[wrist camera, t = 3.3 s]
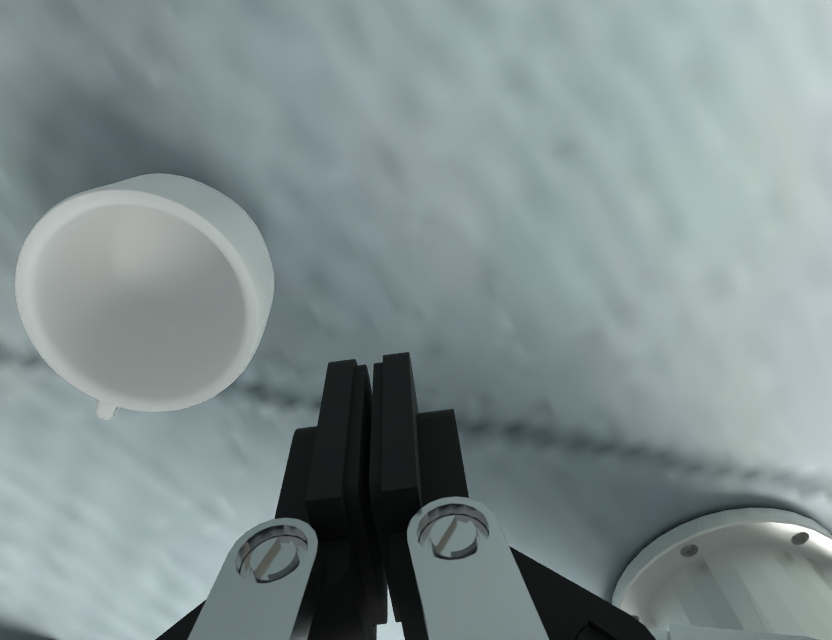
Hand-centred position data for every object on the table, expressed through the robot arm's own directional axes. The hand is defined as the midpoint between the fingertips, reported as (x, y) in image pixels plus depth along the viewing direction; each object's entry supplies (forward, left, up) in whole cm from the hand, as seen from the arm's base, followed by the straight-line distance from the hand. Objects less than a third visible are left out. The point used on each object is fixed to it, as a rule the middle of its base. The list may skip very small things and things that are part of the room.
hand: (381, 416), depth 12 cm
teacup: (+9, +1, -13) cm, 15 cm away
